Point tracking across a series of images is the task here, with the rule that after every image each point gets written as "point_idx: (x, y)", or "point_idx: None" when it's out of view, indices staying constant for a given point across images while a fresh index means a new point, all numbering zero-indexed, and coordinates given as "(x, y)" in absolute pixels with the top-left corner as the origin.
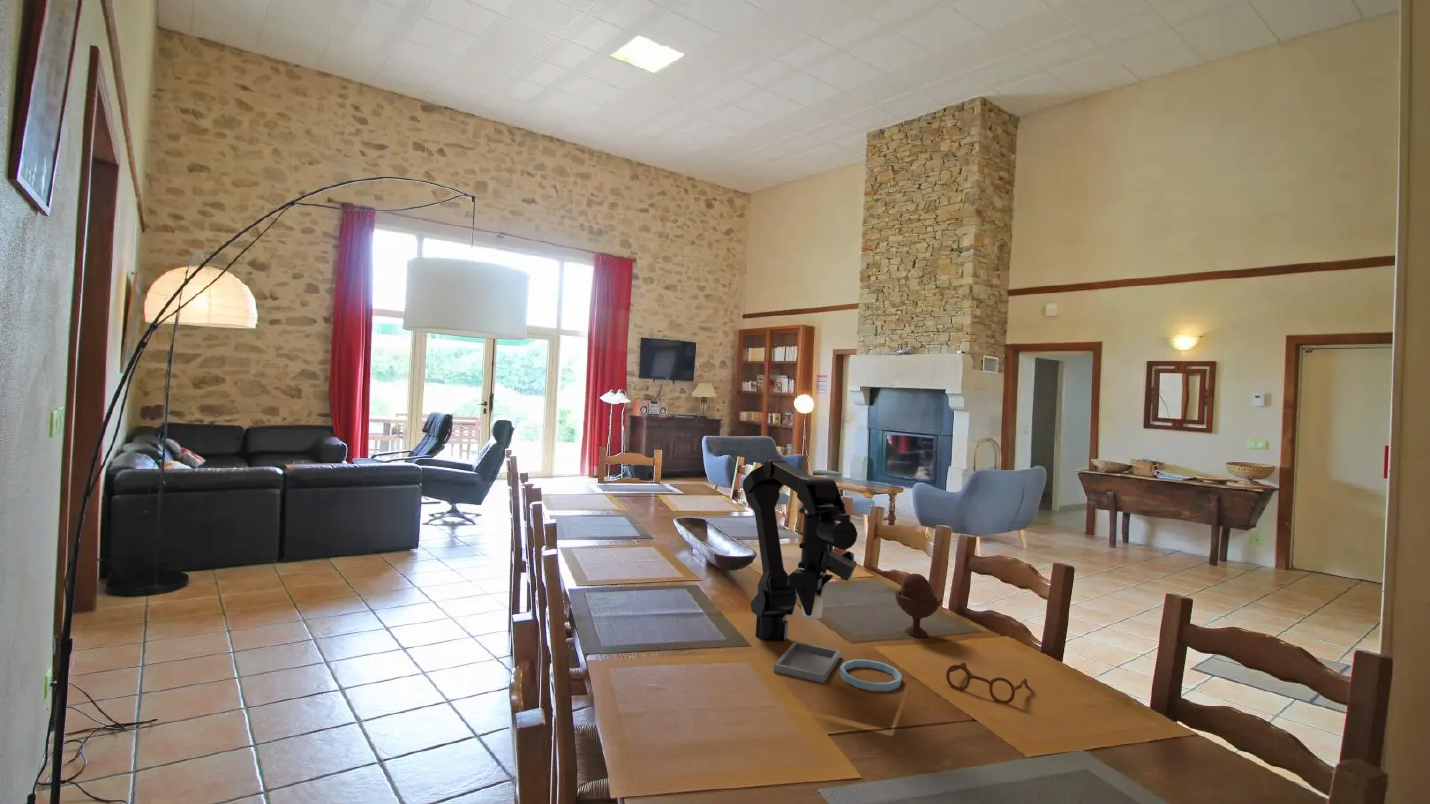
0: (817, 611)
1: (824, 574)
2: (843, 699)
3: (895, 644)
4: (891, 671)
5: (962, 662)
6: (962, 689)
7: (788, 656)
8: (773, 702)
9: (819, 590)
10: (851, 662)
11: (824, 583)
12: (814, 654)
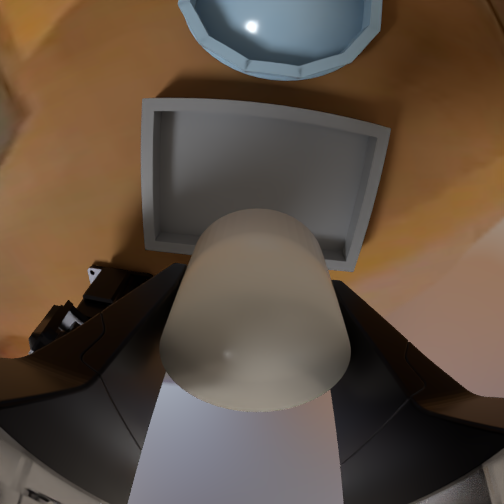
0: (320, 259)
1: (15, 478)
2: (428, 76)
3: (3, 28)
4: None
5: None
6: None
7: None
8: (467, 232)
9: (128, 357)
10: (226, 46)
11: (74, 394)
12: (170, 176)
